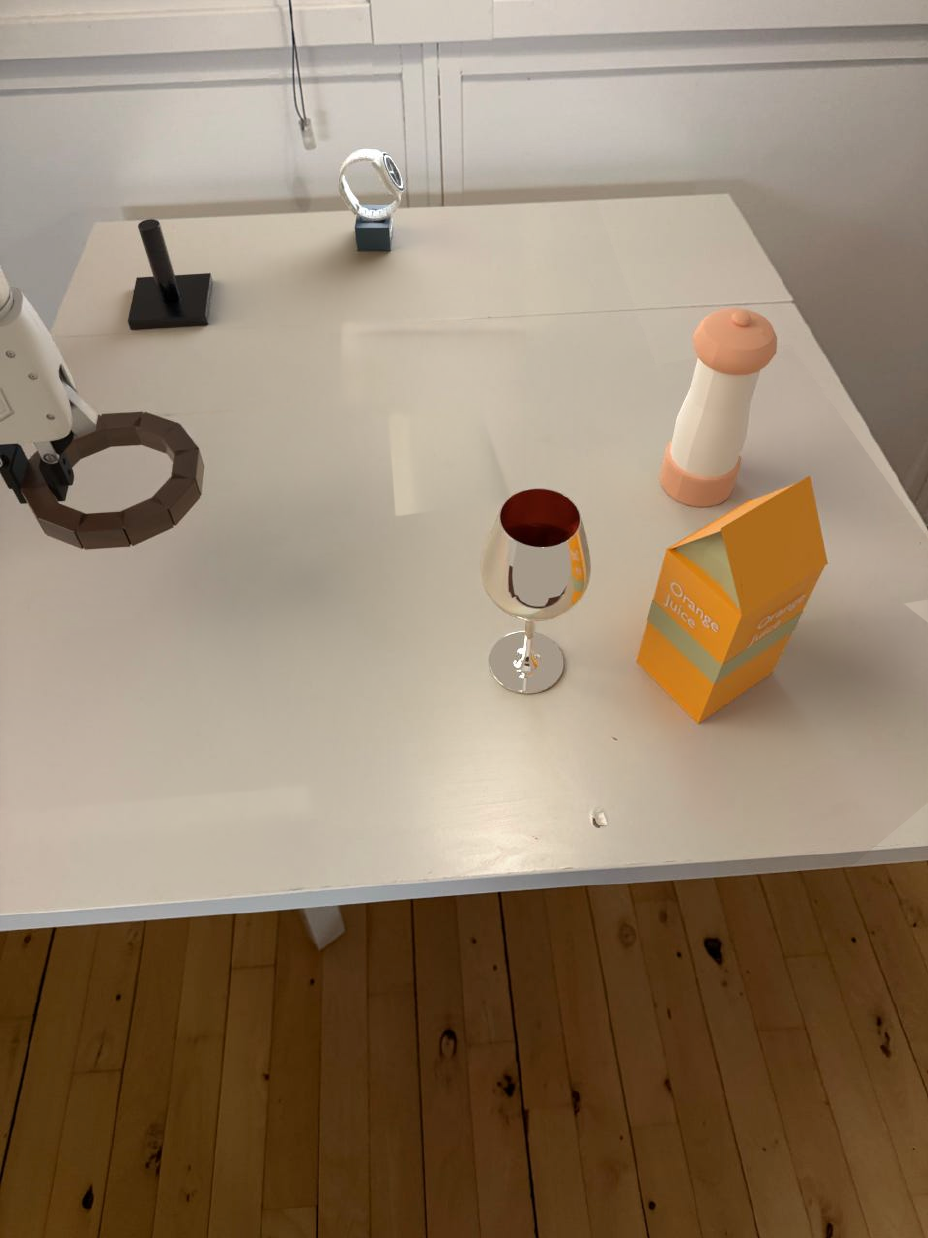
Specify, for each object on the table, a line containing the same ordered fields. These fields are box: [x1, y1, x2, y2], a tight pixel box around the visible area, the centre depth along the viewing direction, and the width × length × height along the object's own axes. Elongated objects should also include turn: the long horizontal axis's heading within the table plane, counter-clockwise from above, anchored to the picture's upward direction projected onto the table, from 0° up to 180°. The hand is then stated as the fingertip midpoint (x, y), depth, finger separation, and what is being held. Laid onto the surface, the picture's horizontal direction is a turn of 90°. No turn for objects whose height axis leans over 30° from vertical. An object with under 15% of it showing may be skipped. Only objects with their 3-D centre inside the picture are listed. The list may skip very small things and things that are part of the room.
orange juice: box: [636, 474, 828, 725], centre depth 68 cm, size 8×9×20 cm
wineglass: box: [479, 487, 592, 695], centre depth 70 cm, size 8×8×18 cm
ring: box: [21, 411, 205, 551], centre depth 73 cm, size 14×14×2 cm
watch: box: [338, 148, 405, 252], centre depth 113 cm, size 6×8×11 cm
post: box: [127, 218, 213, 331], centre depth 104 cm, size 9×9×10 cm
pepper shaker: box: [659, 307, 778, 508], centre depth 82 cm, size 7×7×19 cm
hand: (46, 489), depth 73 cm, fingers closed on ring, 2 cm apart
